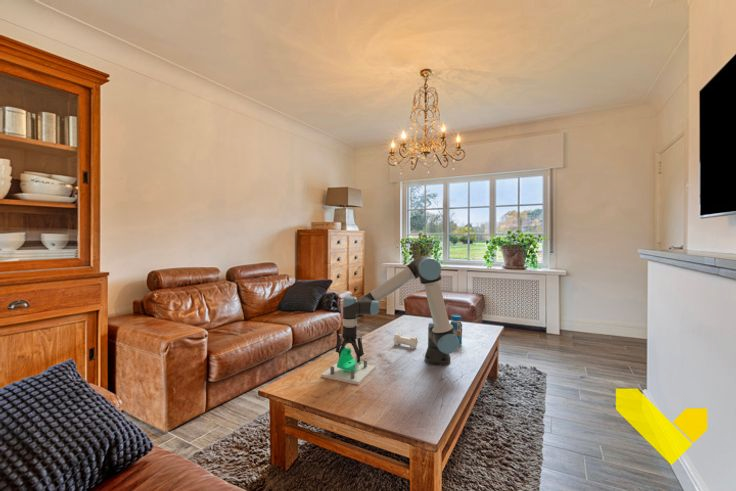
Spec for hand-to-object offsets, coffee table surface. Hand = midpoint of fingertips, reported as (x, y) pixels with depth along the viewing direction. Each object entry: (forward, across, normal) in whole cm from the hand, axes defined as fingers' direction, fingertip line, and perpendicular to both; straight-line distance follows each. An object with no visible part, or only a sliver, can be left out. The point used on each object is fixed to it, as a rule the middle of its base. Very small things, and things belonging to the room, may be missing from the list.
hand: (349, 366), depth 184 cm
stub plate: (+3, 0, 0) cm, 3 cm away
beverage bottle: (+4, -45, -73) cm, 86 cm away
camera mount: (+1, 0, 0) cm, 1 cm away
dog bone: (+4, -15, -54) cm, 56 cm away
